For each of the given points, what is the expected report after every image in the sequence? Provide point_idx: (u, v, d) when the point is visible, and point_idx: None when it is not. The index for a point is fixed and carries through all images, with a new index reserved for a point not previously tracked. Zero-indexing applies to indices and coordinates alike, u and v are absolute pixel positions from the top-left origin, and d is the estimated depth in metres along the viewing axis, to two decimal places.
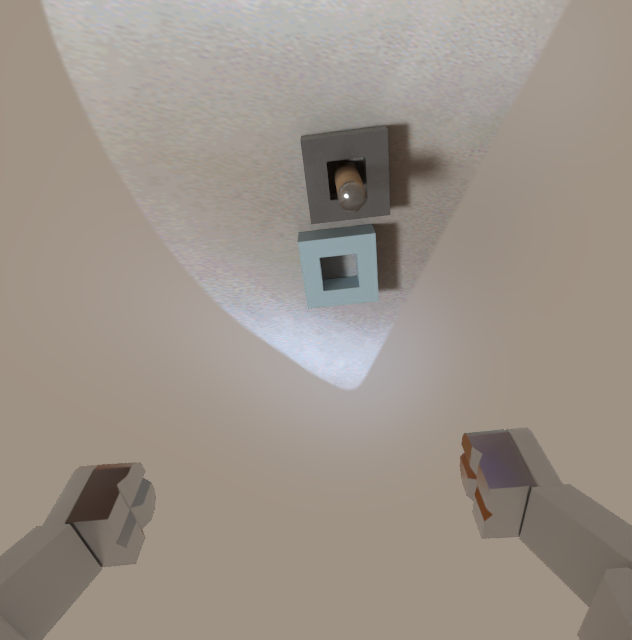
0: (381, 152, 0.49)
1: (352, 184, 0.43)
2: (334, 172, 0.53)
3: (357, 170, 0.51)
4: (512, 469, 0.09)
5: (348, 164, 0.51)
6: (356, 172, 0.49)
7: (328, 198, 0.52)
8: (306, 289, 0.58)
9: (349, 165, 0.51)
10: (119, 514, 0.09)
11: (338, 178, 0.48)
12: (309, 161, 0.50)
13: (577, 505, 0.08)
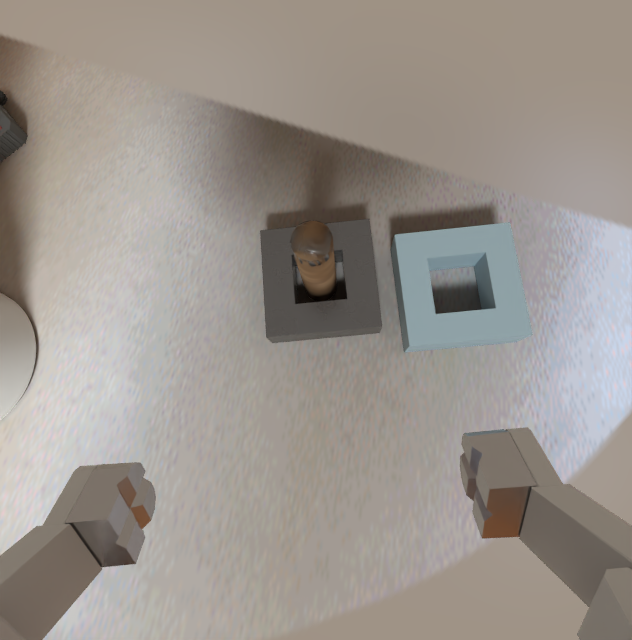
0: (287, 236, 0.39)
1: (291, 241, 0.30)
2: (316, 299, 0.39)
3: None
4: (512, 469, 0.09)
5: None
6: None
7: (344, 301, 0.37)
8: (494, 335, 0.35)
9: None
10: (119, 514, 0.09)
11: (306, 279, 0.34)
12: (293, 326, 0.37)
13: (577, 506, 0.08)
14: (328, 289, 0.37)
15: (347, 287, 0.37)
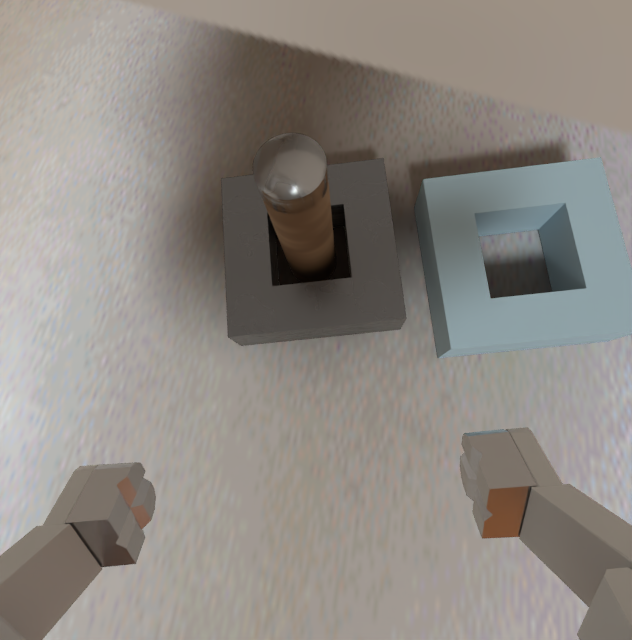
0: None
1: (255, 168, 0.17)
2: (306, 280, 0.27)
3: None
4: (512, 469, 0.09)
5: None
6: None
7: (347, 281, 0.24)
8: (586, 331, 0.22)
9: None
10: (119, 514, 0.09)
11: (286, 244, 0.22)
12: (269, 320, 0.24)
13: (577, 506, 0.08)
14: (322, 263, 0.24)
15: (352, 260, 0.24)
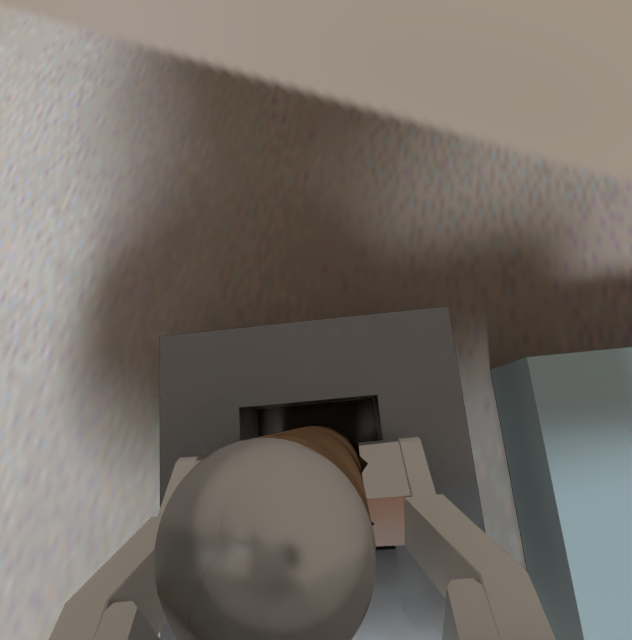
0: (228, 352, 0.15)
1: (161, 556, 0.06)
2: None
3: None
4: (391, 479, 0.09)
5: None
6: None
7: (387, 556, 0.13)
8: None
9: None
10: None
11: None
12: None
13: (442, 516, 0.08)
14: None
15: None
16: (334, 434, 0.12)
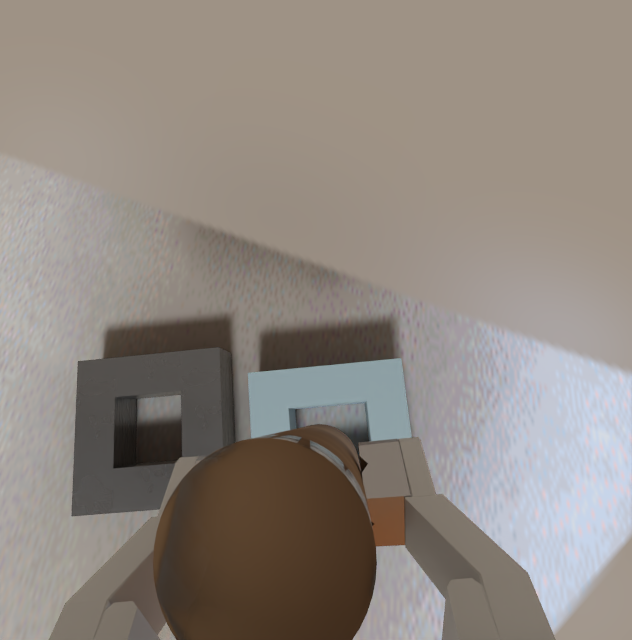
0: (111, 369, 0.29)
1: (160, 556, 0.06)
2: None
3: None
4: (391, 479, 0.09)
5: None
6: None
7: None
8: None
9: None
10: None
11: None
12: (108, 501, 0.27)
13: (442, 516, 0.08)
14: None
15: (183, 445, 0.28)
16: (334, 434, 0.12)
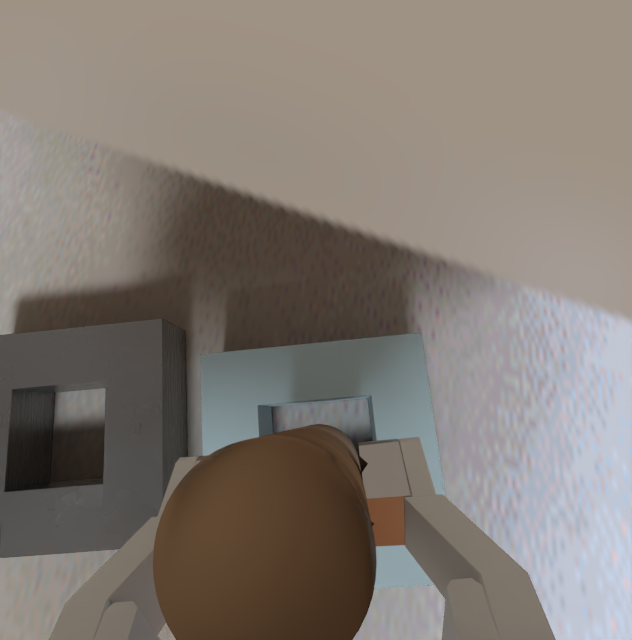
0: (9, 350, 0.21)
1: (160, 556, 0.06)
2: None
3: None
4: (391, 479, 0.09)
5: None
6: None
7: (97, 489, 0.19)
8: (379, 582, 0.17)
9: None
10: None
11: None
12: None
13: (442, 516, 0.08)
14: None
15: (106, 459, 0.19)
16: (334, 434, 0.12)
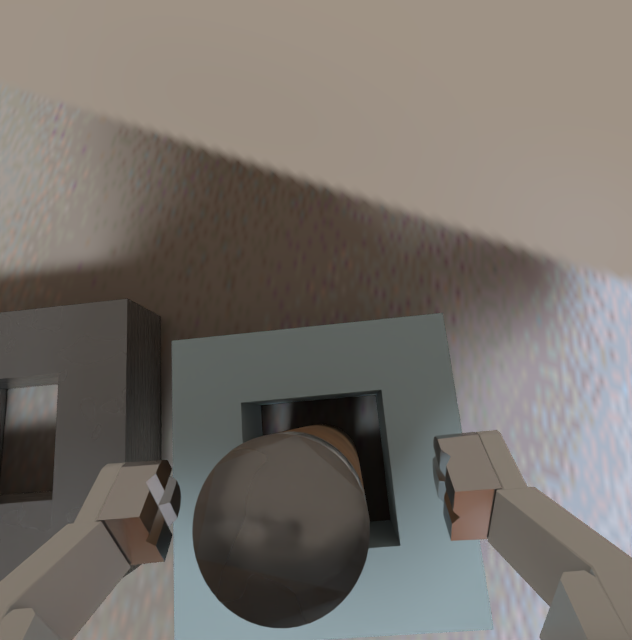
0: None
1: (198, 528, 0.07)
2: None
3: None
4: (478, 472, 0.09)
5: None
6: None
7: (45, 506, 0.15)
8: (393, 627, 0.13)
9: None
10: (149, 512, 0.09)
11: None
12: None
13: (539, 508, 0.08)
14: None
15: (56, 469, 0.16)
16: (335, 432, 0.13)
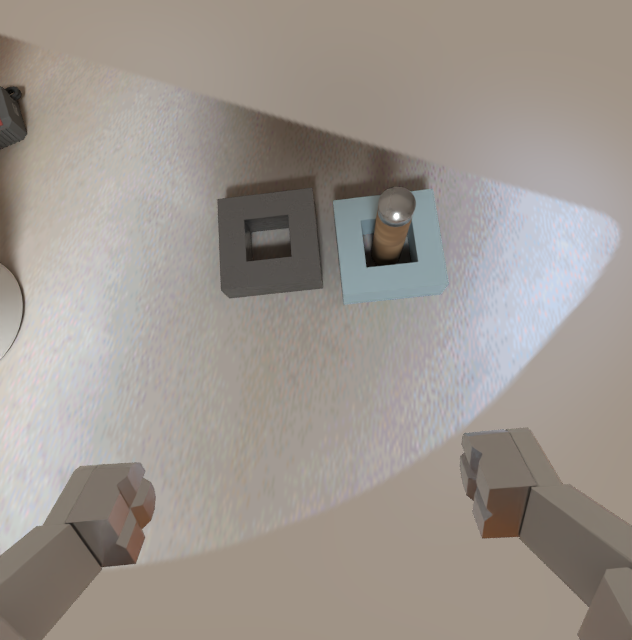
0: (240, 203, 0.44)
1: (379, 204, 0.34)
2: (383, 264, 0.44)
3: None
4: (512, 469, 0.09)
5: (372, 245, 0.43)
6: None
7: (289, 258, 0.42)
8: (416, 285, 0.40)
9: None
10: (119, 514, 0.09)
11: (382, 242, 0.39)
12: (244, 280, 0.42)
13: (577, 506, 0.08)
14: (397, 253, 0.42)
15: (291, 246, 0.43)
16: None
